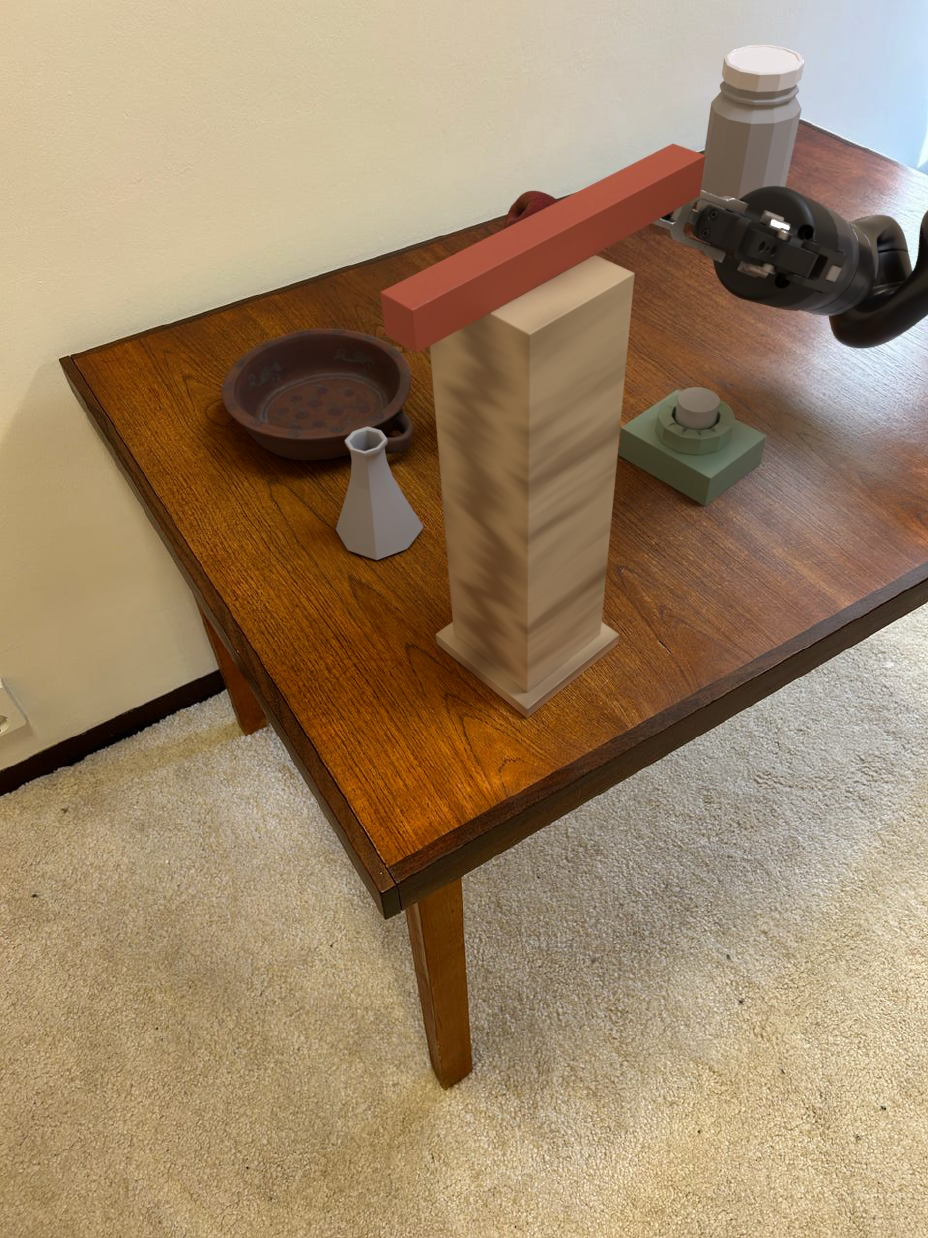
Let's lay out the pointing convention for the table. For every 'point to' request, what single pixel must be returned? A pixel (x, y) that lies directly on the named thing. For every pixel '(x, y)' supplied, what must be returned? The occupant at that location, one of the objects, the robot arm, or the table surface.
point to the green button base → (691, 450)
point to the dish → (320, 392)
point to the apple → (528, 206)
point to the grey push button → (697, 408)
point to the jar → (752, 122)
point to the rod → (538, 248)
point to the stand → (532, 479)
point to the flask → (374, 501)
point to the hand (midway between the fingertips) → (676, 212)
